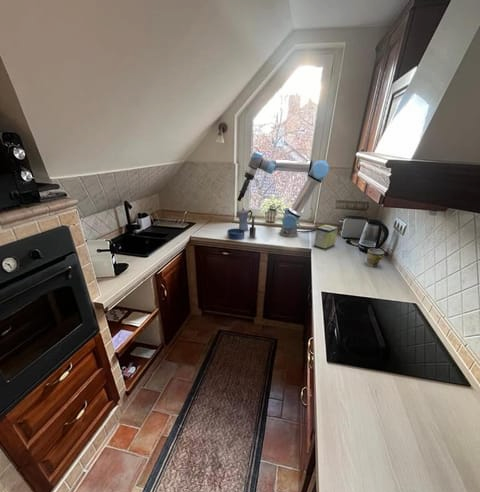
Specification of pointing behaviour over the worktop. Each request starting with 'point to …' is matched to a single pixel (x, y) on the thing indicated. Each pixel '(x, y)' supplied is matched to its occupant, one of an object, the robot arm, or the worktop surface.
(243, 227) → the moka pot
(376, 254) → the ceramic cup
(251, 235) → the crock
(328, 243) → the protein box
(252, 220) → the cooking stick
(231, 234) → the bowl
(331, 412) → the worktop surface
